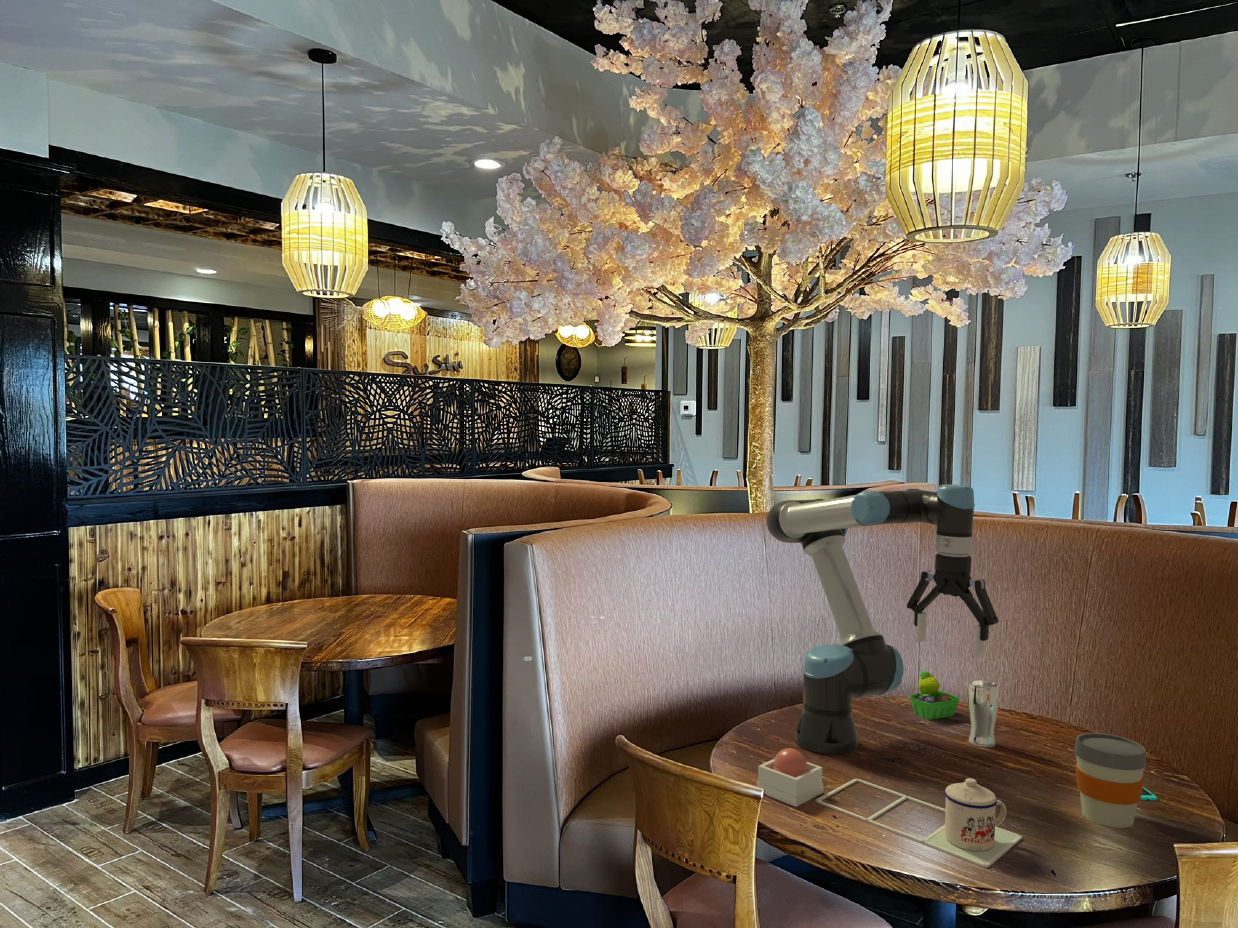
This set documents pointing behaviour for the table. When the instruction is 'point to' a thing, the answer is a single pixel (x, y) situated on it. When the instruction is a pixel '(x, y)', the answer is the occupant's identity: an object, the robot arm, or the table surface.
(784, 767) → the red ball
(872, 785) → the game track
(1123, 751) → the reusable coffee cup
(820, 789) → the grey square box
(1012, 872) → the table surface
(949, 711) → the fruit basket
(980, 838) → the teacup with lid
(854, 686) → the robot arm
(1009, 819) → the table surface
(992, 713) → the beer glass
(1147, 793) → the handheld game console
